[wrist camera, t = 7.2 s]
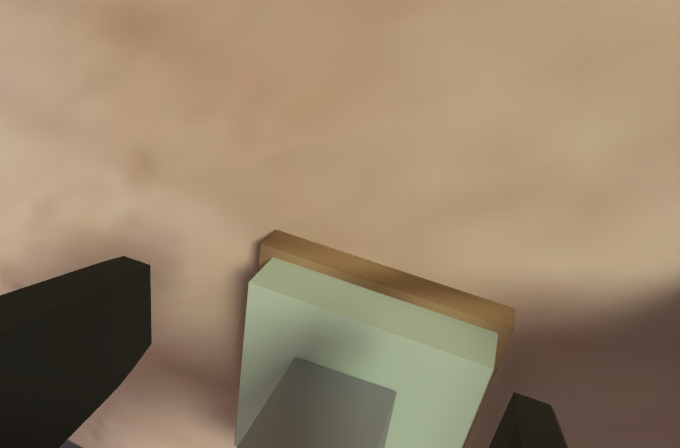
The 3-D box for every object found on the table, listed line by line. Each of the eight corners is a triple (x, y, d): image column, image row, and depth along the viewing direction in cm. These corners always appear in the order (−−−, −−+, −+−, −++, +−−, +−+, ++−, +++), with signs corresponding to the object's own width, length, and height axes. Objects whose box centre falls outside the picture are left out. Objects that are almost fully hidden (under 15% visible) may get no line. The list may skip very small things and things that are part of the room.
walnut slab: (515, 299, 20) (512, 329, 18) (448, 465, 25) (441, 501, 23) (282, 223, 22) (260, 244, 21) (261, 389, 27) (242, 416, 25)
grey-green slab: (498, 333, 19) (493, 369, 17) (437, 488, 23) (428, 529, 21) (273, 257, 21) (248, 282, 19) (255, 413, 25) (234, 445, 23)
